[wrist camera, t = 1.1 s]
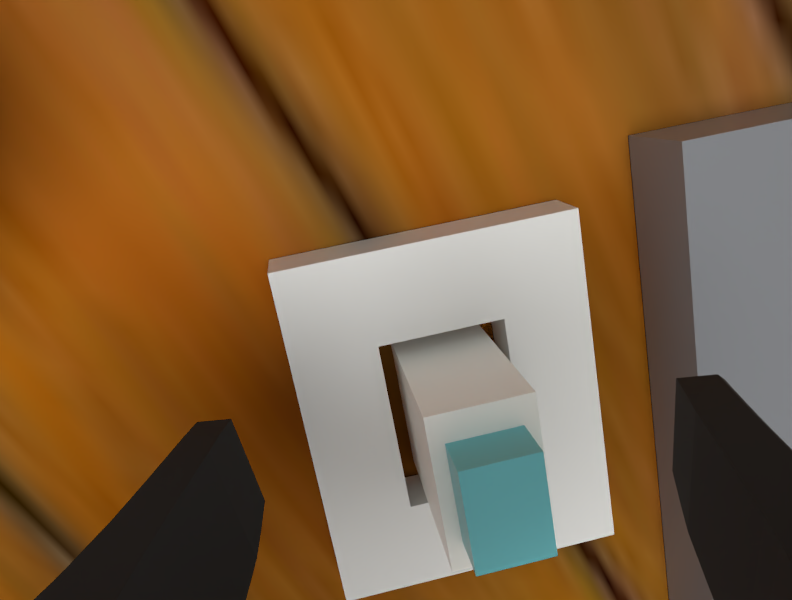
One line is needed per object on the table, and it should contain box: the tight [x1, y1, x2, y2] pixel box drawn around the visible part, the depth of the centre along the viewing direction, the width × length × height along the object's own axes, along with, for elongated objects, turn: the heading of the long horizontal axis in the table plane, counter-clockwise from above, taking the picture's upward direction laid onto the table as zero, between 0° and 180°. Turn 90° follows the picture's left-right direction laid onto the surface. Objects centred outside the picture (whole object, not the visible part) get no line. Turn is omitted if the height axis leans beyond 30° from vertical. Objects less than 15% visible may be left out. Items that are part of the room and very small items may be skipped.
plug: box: [391, 325, 558, 576], centre depth 20 cm, size 4×3×7 cm, turn 10°
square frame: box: [267, 200, 614, 600], centre depth 23 cm, size 11×9×2 cm
